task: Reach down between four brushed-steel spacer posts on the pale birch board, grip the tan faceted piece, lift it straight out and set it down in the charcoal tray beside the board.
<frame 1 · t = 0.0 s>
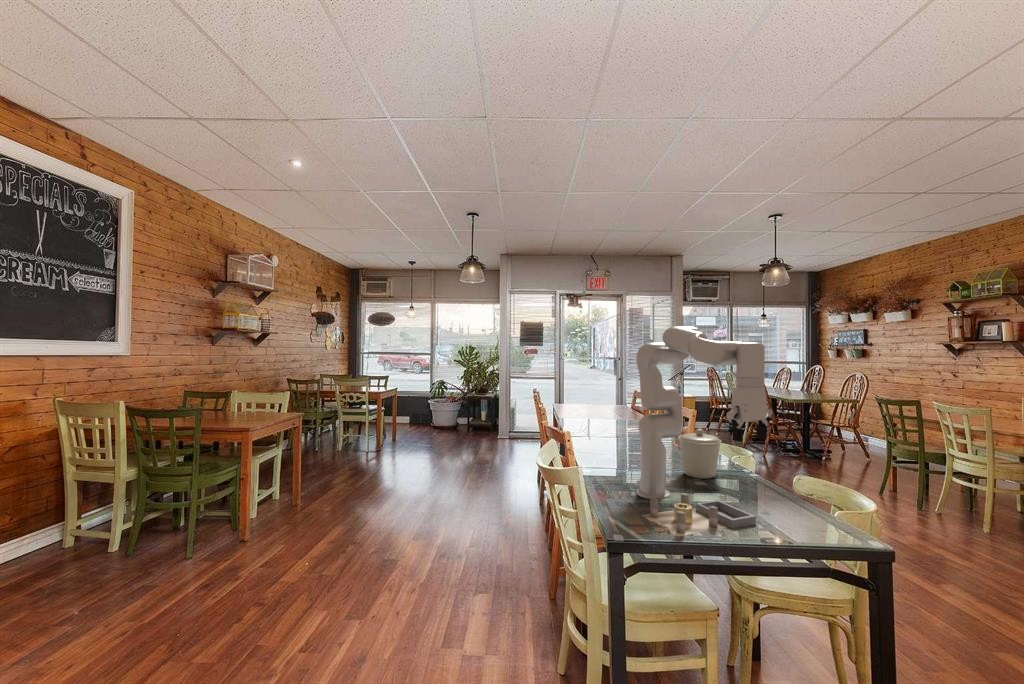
hand: (749, 439, 140), 31 cm above the table, tool pointing down, fingers open, 9 cm apart
canister: (699, 476, 208), on the table
tan faceted piece: (682, 521, 153), point 1 cm above the table, touching spacer board
tray: (724, 519, 157), on the table
spacer board: (682, 524, 153), on the table
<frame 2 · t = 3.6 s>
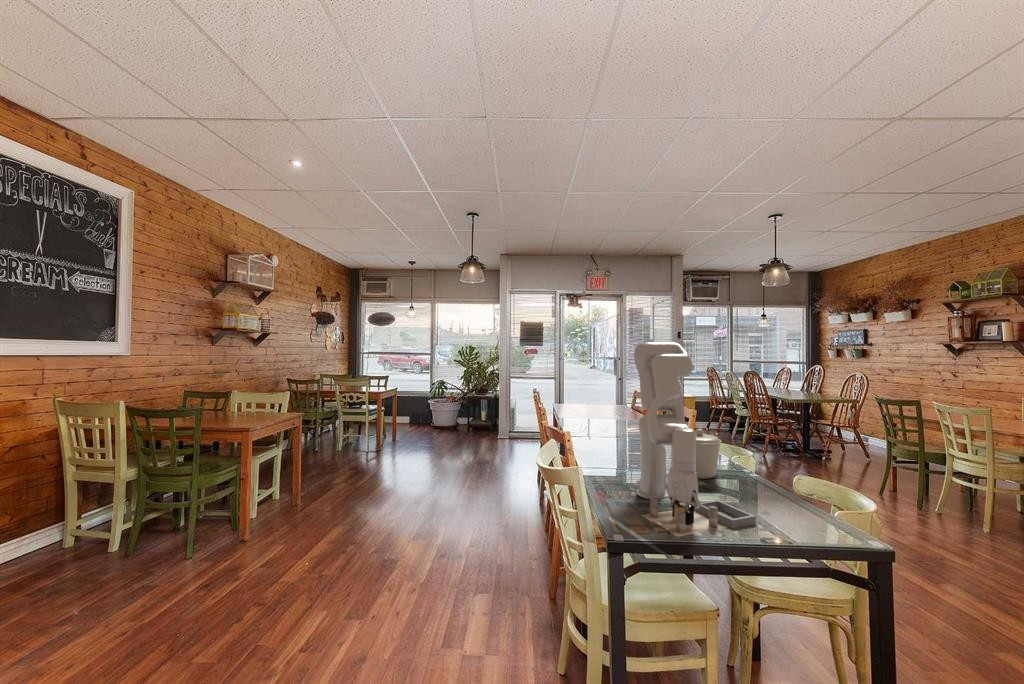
hand: (682, 519, 153), 1 cm above the table, tool pointing down, fingers closed on tan faceted piece, 5 cm apart
tan faceted piece: (682, 521, 153), point 1 cm above the table, touching gripper, spacer board
everything else where it was.
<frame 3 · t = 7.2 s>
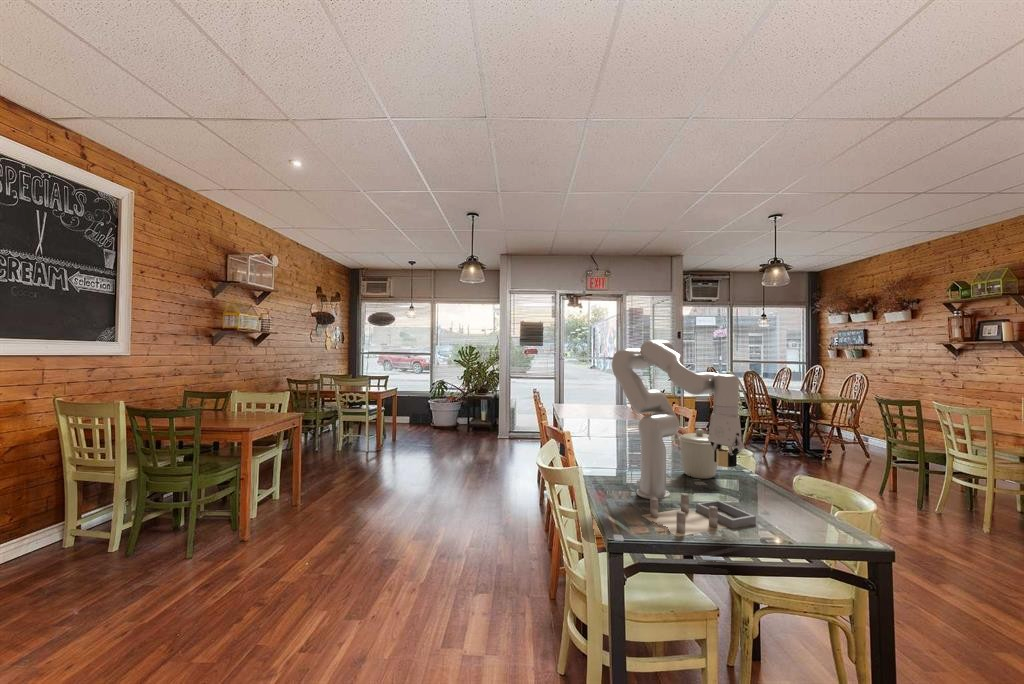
hand: (725, 463, 157), 19 cm above the table, tool pointing down, fingers closed on tan faceted piece, 5 cm apart
tan faceted piece: (725, 465, 157), point 19 cm above the table, touching gripper
everything else where it was.
when the fingers open (3 cm above the table, at t = 10.6 s): tan faceted piece drops 2 cm, resting on tray.
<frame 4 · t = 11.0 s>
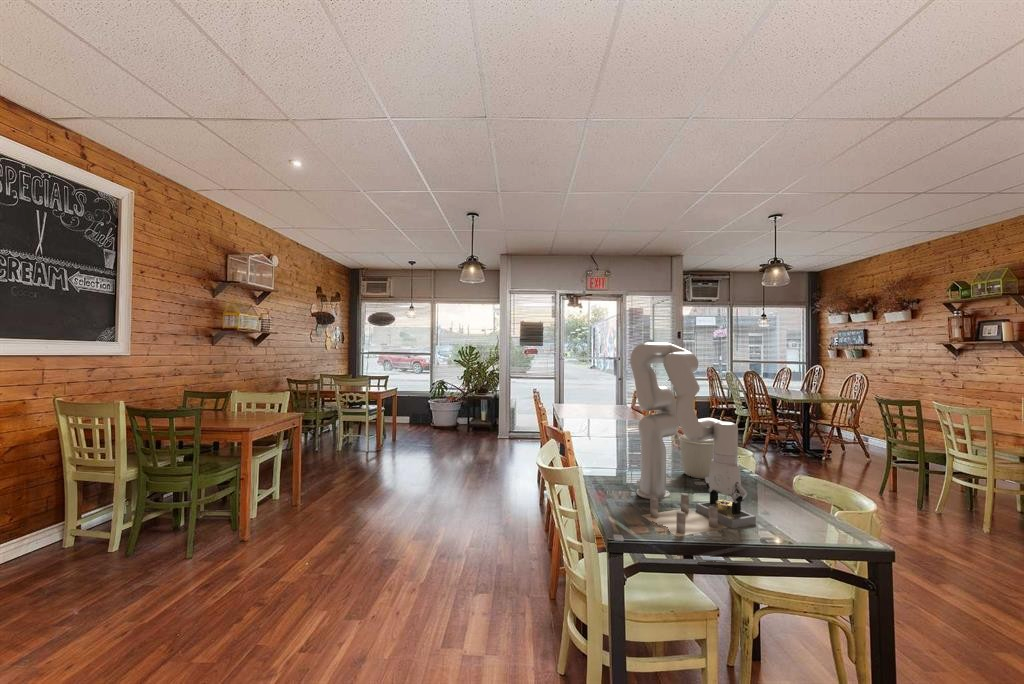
hand: (724, 508, 157), 4 cm above the table, tool pointing down, fingers open, 9 cm apart
tan faceted piece: (724, 517, 157), point 1 cm above the table, touching tray
everything else where it was.
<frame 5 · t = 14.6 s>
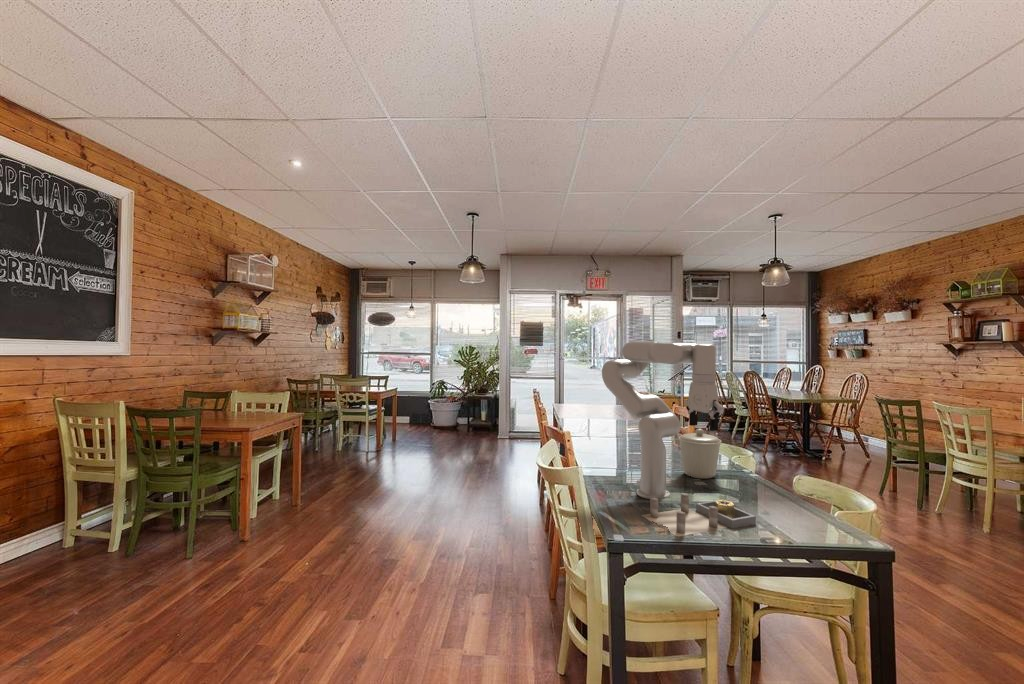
hand: (703, 427, 162), 30 cm above the table, tool pointing down, fingers open, 9 cm apart
nothing on the table moved.
at the end: tan faceted piece inside the target area on the tray (0.0 cm from its centre), point 0.8 cm above the tray's base; the gripper is holding nothing; tan faceted piece tilted 0° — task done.
